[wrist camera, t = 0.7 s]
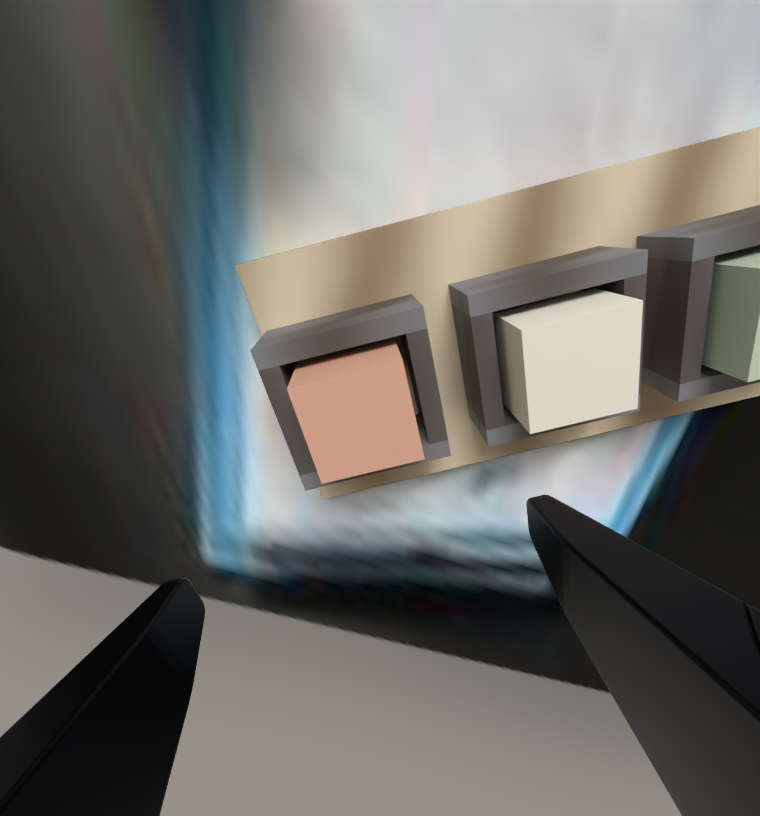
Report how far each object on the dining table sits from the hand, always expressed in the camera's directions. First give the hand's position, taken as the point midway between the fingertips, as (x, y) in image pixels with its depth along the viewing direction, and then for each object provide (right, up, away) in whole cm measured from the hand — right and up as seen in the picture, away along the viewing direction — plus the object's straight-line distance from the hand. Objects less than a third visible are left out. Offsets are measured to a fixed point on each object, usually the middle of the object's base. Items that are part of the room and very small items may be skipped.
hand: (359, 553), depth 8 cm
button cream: (+7, +5, +8) cm, 12 cm away
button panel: (+7, +7, +11) cm, 14 cm away
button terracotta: (0, +4, +8) cm, 9 cm away
